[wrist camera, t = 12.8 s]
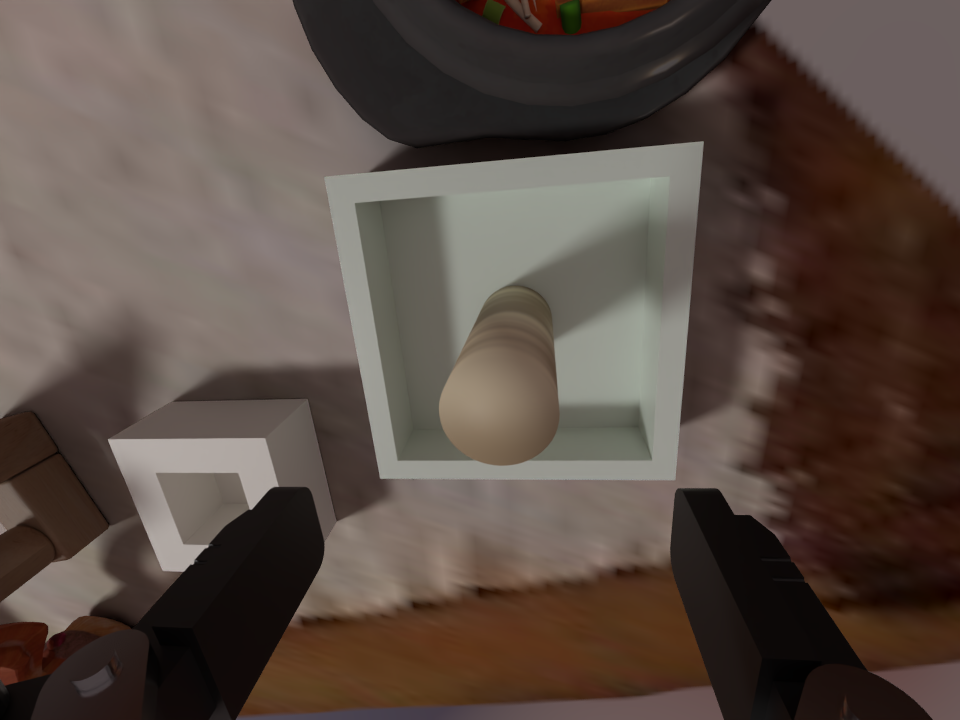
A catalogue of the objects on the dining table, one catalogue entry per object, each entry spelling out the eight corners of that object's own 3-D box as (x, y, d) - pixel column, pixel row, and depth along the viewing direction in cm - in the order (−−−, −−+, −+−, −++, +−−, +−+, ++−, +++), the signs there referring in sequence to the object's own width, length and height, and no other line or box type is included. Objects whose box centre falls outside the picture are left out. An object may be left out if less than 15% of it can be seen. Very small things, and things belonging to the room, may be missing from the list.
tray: (360, 178, 24) (324, 176, 20) (672, 149, 22) (703, 141, 18) (402, 437, 30) (380, 478, 26) (654, 435, 28) (675, 480, 24)
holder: (171, 401, 31) (107, 439, 27) (307, 398, 30) (265, 438, 25) (213, 519, 35) (162, 571, 30) (336, 521, 33) (304, 576, 29)
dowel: (477, 287, 25) (432, 359, 15) (551, 283, 24) (558, 355, 14) (482, 356, 26) (445, 465, 16) (553, 353, 26) (560, 465, 15)
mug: (178, 673, 42) (1, 913, 28) (105, 673, 44) (-98, 902, 30) (106, 549, 37) (-151, 765, 23) (27, 554, 39) (-260, 761, 25)
